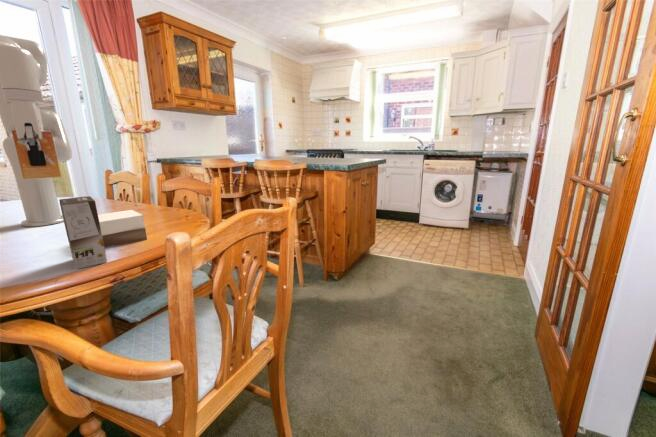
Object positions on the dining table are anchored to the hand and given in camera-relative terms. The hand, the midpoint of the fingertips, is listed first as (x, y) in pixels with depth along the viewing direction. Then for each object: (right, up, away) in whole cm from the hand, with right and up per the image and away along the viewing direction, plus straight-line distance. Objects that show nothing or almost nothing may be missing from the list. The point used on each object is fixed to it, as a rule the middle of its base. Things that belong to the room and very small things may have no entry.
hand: (40, 164), depth 85 cm
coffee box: (+21, -27, -9) cm, 35 cm away
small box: (0, -4, +1) cm, 4 cm away
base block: (+17, -22, +9) cm, 30 cm away
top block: (+17, -18, +7) cm, 27 cm away
